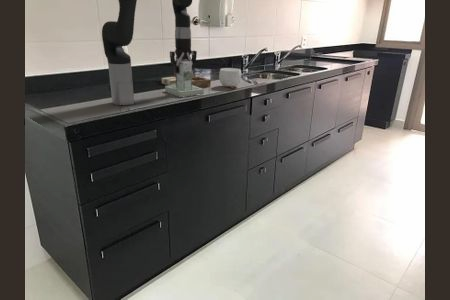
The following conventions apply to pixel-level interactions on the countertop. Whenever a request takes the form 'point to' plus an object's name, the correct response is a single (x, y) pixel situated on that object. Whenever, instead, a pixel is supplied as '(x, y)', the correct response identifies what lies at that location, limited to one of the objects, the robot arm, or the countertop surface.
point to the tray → (174, 91)
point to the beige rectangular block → (169, 81)
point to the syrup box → (184, 76)
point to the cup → (230, 77)
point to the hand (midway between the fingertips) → (183, 72)
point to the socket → (201, 82)
